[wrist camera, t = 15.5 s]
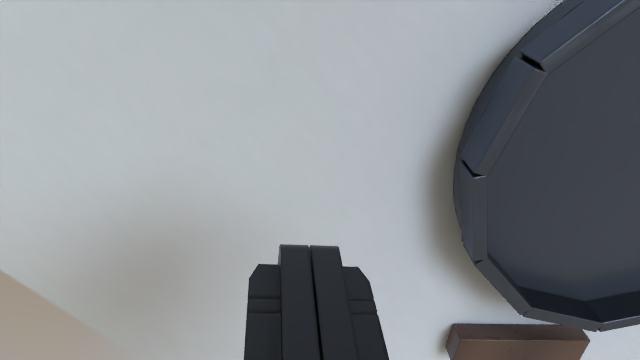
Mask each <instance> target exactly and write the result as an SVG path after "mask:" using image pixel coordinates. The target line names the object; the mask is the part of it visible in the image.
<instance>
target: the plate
mask: <svg viewBox="0 0 640 360" xmlns="http://www.w3.org/2000/svg"><path fill="white" fill-rule="evenodd" d="M453 194H454V203H455V211H456V214H457V218H458V221H459V224H460V228H461V231H462V242H463V245H464V247H465V249H466V251H467V253H468V254H469V256H470V258H471V260H472V262H473V263H474V265H475V266H476V267H477V269H478V270H479V271H480V272H481V273H482V274H483V275H484V276H485V277H486V278H487V279H488V281H489V282H490V283H491V284H492V285H493V286H494V287H495V288H496V289H497V290H498V291H499V293H500V294H501V295H502V296H503V297H504V298H505V299H506V300H507V301H508V302H509V303H510V305H511V306H512V307H513V308H514V309H515V310H516V311H517V312H518V313H519V314H520V315H523V316H524V317H527V318H532V319H537V320H541V321H546V322H551V323H555V324H560V325H565V326H570V327H574V328H579V329H584V330H588V331H593V332H596V331H597V330H599V331H600V332H602V331H607V330H612V329H618V328H623V327H628V326H633V325H638V324H640V0H566V1H564V2H563V3H561V4H560V5H558V6H557V7H556V8H555V9H554V10H553V11H551V12H550V13H549V14H548V15H547V16H546V17H544V18H543V19H542V20H541V21H540V22H539V23H537V24H536V25H535V26H534V27H533V28H532V29H531V30H530V31H529V32H528V33H527V34H526V35H525V36H524V37H523V38H522V39H521V41H520V42H519V43H518V44H517V45H516V46H515V47H514V48H513V49H512V50H511V51H510V52H509V54H508V55H507V56H506V58H505V59H504V60H503V62H502V63H501V64H500V65H499V67H498V68H497V69H496V71H495V72H494V73H493V75H492V76H491V78H490V79H489V81H488V83H487V84H486V86H485V88H484V89H483V91H482V92H481V94H480V96H479V97H478V99H477V101H476V103H475V105H474V107H473V110H472V112H471V114H470V116H469V118H468V120H467V122H466V125H465V128H464V131H463V134H462V137H461V140H460V143H459V147H458V151H457V156H456V162H455V168H454V183H453Z"/></svg>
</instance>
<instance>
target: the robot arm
mask: <svg viewBox="0 0 640 360" xmlns="http://www.w3.org/2000/svg"><path fill="white" fill-rule="evenodd" d="M373 298H374V297H373V293H372V289H371V286H370V282H369V280H368V279H367V278H366V276H365V275H364V274H363V273H362V271H361V270H360V269H359V268H358V267H343V266H342V261H341V256H340V251H339V247H338V246H315V245H310V246H309V247H308V245H283V244H280V247H279V257H278V265H271V264H258V266H257V267H256V269H255V270H254V272H253V273H252V275H251V276H250V278H249V289H248V304H247V320H246V335H245V351H244V360H389V357H388V353H387V349H386V345H385V341H384V337H383V333H382V329H381V325H380V321H379V317H378V315H377V309H376V305H375V301H374V300H373Z"/></svg>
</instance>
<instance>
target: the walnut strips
mask: <svg viewBox="0 0 640 360" xmlns="http://www.w3.org/2000/svg"><path fill="white" fill-rule="evenodd" d="M589 342H590V339H589V338H588V337H587V335H586V334H585V333H584V331H583V330H582V329H579V328H574V327H570V326H565V325H508V324H453V327H452V330H451V333H450V336H449V338H448V341H447V344H446V349H447V352H448V354H449V357H450V360H580V358H581V356H582V355H583V353H584V351H585V349H586V348H587V346H588V344H589Z"/></svg>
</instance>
